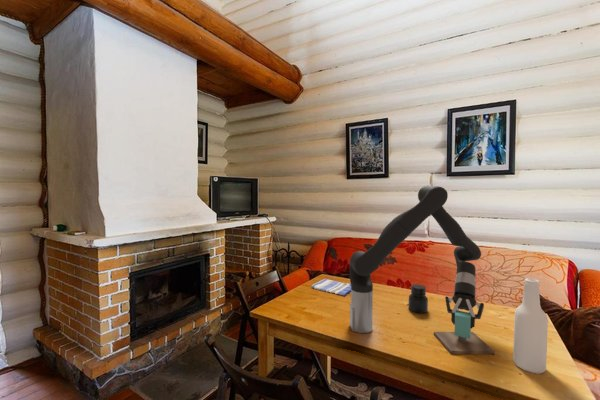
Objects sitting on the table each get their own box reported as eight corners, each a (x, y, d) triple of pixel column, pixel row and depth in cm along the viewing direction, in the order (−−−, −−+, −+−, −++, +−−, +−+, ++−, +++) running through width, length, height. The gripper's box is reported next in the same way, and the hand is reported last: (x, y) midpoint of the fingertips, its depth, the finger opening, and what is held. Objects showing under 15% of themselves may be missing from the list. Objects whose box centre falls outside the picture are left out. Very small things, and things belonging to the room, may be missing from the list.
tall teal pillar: (454, 335, 111) (454, 314, 111) (455, 329, 116) (456, 310, 115) (470, 338, 108) (470, 318, 108) (470, 333, 113) (471, 313, 112)
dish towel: (325, 281, 188) (325, 277, 188) (358, 289, 174) (358, 284, 174) (310, 289, 175) (310, 284, 175) (344, 297, 160) (344, 293, 160)
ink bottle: (425, 306, 147) (425, 283, 146) (431, 314, 138) (431, 289, 138) (405, 306, 148) (405, 283, 147) (410, 313, 139) (410, 289, 139)
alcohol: (550, 377, 92) (554, 285, 91) (517, 370, 95) (520, 282, 94) (539, 361, 100) (542, 277, 99) (509, 356, 104) (512, 274, 102)
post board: (450, 354, 105) (451, 334, 105) (433, 334, 119) (434, 317, 119) (494, 354, 105) (495, 335, 105) (472, 334, 119) (472, 317, 119)
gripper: (445, 278, 121) (441, 317, 112) (485, 284, 113) (484, 326, 104) (446, 287, 126) (442, 325, 116) (485, 293, 118) (484, 334, 109)
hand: (462, 325), depth 110 cm, fingers closed on tall teal pillar, 5 cm apart
